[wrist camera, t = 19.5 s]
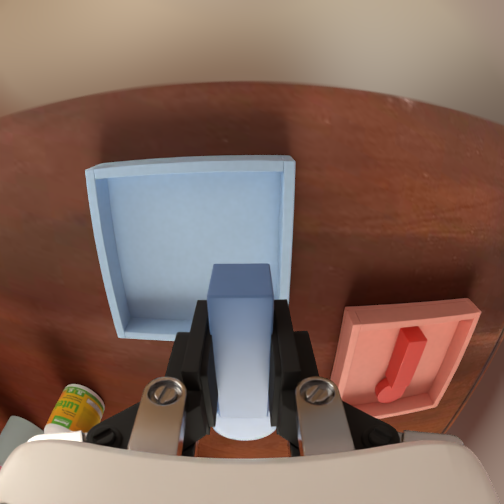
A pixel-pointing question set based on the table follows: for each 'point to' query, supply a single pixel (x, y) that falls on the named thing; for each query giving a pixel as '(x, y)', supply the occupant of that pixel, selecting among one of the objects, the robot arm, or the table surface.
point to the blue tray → (186, 232)
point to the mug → (16, 436)
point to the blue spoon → (242, 347)
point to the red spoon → (401, 364)
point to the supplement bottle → (75, 410)
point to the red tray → (382, 345)
